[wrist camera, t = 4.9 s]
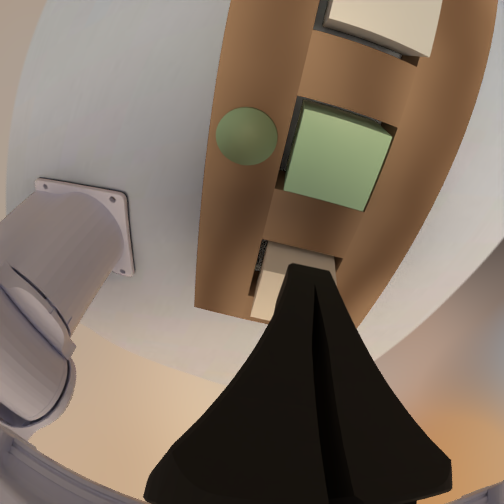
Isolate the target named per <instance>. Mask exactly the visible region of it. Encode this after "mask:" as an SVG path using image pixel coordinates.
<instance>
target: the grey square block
mask: <svg viewBox="0 0 504 504" xmlns="http://www.w3.org/2000/svg"><path fill="white" fill-rule="evenodd" d="M441 5H442V0H328V4H327V8H326V12H325V17H324V21H323V25H322V27H326V28H330V29H333V30H336V31H340V32H343V33H346V34H349V35H353V36H356V37H358V38H361V39H364V40H367V41H370V42H372V43H375V44H378V45H380V46H383V47H385V48H388V49H390V50H393V51H395V52H397V53H400V54H402V55H405V56H419V57H430V54H431V50H432V46H433V42H434V38H435V34H436V29H437V25H438V20H439V15H440V10H441Z"/></svg>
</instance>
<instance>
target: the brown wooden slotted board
mask: <svg viewBox="0 0 504 504" xmlns="http://www.w3.org/2000/svg"><path fill="white" fill-rule="evenodd" d="M319 1H320V0H231V3H230V7H229V12H228V17H227V22H226V27H225V33H224V38H223V44H222V49H221V55H220V61H219V67H218V73H217V79H216V86H215V92H214V99H213V106H212V113H211V120H210V128H209V136H208V144H207V152H206V161H205V170H204V180H203V190H202V200H201V211H200V223H199V236H198V250H197V265H196V283H195V304H194V307H197V308H201V309H205V310H209V311H213V312H217V313H221V314H226V315H230V316H234V317H238V318H243V319H247V320H251V321H256V322H260V323H265V324H269V322H270V321H268V320H264V319H259V318H254V317H250V315H251V310H252V305H253V300H254V295H255V289H256V284H257V280H258V276H259V273H260V272H258V271H254V269H255V265H256V261H257V257H258V253H259V249H260V245H261V241H262V239H264V240H269V241H273V242H277V243H281V244H286V245H290V246H294V247H298V248H302V249H307V250H311V251H315V252H319V253H323V254H327V255H331V256H334V261H335V271H336V281H337V288H338V290H339V293H340V295H341V297H342V299H343V301H344V304H345V306H346V308H347V310H348V312H349V314H350V316H351V319H352V321H353V323H354V325H355V327H356V329H357V327H358V326H359V325H360V323H361V322H362V321H363V319H364V318H365V316H366V315H367V314H368V312H369V311H370V309H371V308H372V306H373V305H374V303H375V302H376V301H377V299H378V298H379V296H380V295H381V293H382V292H383V290H384V289H385V287H386V286H387V284H388V282H389V281H390V279H391V278H392V276H393V275H394V273H395V271H396V270H397V268H398V267H399V265H400V263H401V262H402V260H403V258H404V257H405V255H406V253H407V252H408V250H409V248H410V246H411V245H412V243H413V241H414V239H415V238H416V236H417V234H418V232H419V231H420V229H421V227H422V225H423V223H424V221H425V219H426V218H427V216H428V214H429V212H430V210H431V208H432V206H433V204H434V202H435V200H436V198H437V196H438V194H439V192H440V190H441V188H442V186H443V183H444V181H445V179H446V177H447V175H448V172H449V170H450V168H451V166H452V163H453V161H454V159H455V156H456V154H457V152H458V149H459V147H460V144H461V142H462V139H463V137H464V134H465V131H466V129H467V126H468V123H469V120H470V117H471V115H472V112H473V109H474V106H475V103H476V99H477V96H478V93H479V90H480V86H481V83H482V79H483V76H484V72H485V68H486V64H487V60H488V56H489V51H490V47H491V42H492V37H493V31H494V25H495V19H496V12H497V4H498V0H442V5H441V10H440V15H439V20H438V25H437V29H436V34H435V38H434V42H433V46H432V50H431V54H430V57H419V56H405V55H402V57H401V59H398V58H396V57H394V56H391V55H389V54H386V53H384V52H381V51H379V50H376V49H374V48H371V47H368V46H366V45H363V44H360V43H357V42H354V41H351V40H348V39H345V38H341V37H338V36H335V35H331V34H328V33H324V32H320V31H316V30H313V27H314V22H315V18H316V14H317V9H318V5H319ZM297 95H298V96H302V97H306V98H310V99H313V100H317V101H321V102H324V103H328V104H331V105H334V106H338V107H341V108H344V109H347V110H350V111H354V112H357V113H360V114H362V115H365V116H368V117H371V118H374V119H376V120H379V121H382V123H381V126H382V127H383V128H384V129H385V130H386V131H387V132H388V133H389V134H390V135H391V136H392V139H391V142H390V145H389V148H388V150H387V153H386V156H385V158H384V161H383V163H382V166H381V169H380V171H379V174H378V176H377V179H376V181H375V184H374V186H373V189H372V191H371V193H370V196H369V198H368V201H367V203H366V205H365V208H364V210H363V211H359V210H356V209H352V208H349V207H345V206H342V205H338V204H335V203H331V202H327V201H324V200H320V199H316V198H312V197H308V196H304V195H301V194H297V193H293V192H288V191H284V182H285V173H286V171H282V170H279V168H280V164H281V160H282V156H283V152H284V148H285V144H286V140H287V136H288V131H289V127H290V123H291V119H292V115H293V111H294V107H295V102H296V98H297Z"/></svg>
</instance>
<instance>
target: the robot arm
mask: <svg viewBox="0 0 504 504" xmlns="http://www.w3.org/2000/svg"><path fill="white" fill-rule="evenodd" d="M35 189H36V191H35V192H34V193H33V194H31V195H30V196H29V197H28V198H27V199H25V200H24V201H23V202H22V203H21V204H20V205H18V206H17V207H16V208H15V209H14V210H13V211H12V212H11V213H10V214H8V215H7V216H6V217H5V218H4V219H3V220H2V221H1V222H0V504H416V501H417V500H421V499H425V498H429V497H433V496H436V495H439V494H442V493H446V492H449V491H450V490H451V489H452V467H451V460H450V459H449V458H448V457H447V456H446V455H445V453H444V452H443V451H442V450H441V449H439V447H438V446H437V445H436V444H435V443H434V442H433V441H432V440H431V439H430V438H429V437H428V436H427V435H426V434H425V432H424V431H423V430H422V429H421V428H420V426H419V425H418V424H417V423H416V422H415V421H414V419H413V418H412V417H411V415H410V414H409V413H408V412H407V410H406V409H405V408H404V406H403V405H402V403H401V402H400V401H399V399H398V398H397V397H396V395H395V394H394V392H393V391H392V389H391V388H390V387H389V385H388V384H387V382H386V381H385V379H384V377H383V376H382V374H381V372H380V371H379V369H378V368H377V366H376V364H375V363H374V361H373V359H372V357H371V356H370V354H369V352H368V350H367V348H366V346H365V344H364V343H363V341H362V339H361V337H360V335H359V333H358V331H357V329H356V327H355V325H354V323H353V321H352V319H351V316H350V314H349V312H348V310H347V308H346V306H345V304H344V301H343V299H342V297H341V295H340V293H339V290H338V288H337V286H336V284H335V281H334V279H333V277H332V275H331V273H330V271H328V270H324V269H319V268H314V267H310V266H305V265H300V264H296V263H291V264H289V265H288V268H287V271H286V274H285V277H284V280H283V283H282V286H281V288H280V291H279V294H278V297H277V300H276V304H275V309H274V314H273V316H272V318H271V320H270V322H269V324H268V326H267V328H266V329H265V331H264V333H263V335H262V337H261V338H260V340H259V342H258V343H257V345H256V346H255V348H254V350H253V351H252V353H251V354H250V356H249V357H248V359H247V360H246V362H245V363H244V364H243V366H242V367H241V369H240V370H239V371H238V373H237V374H236V375H235V377H234V378H233V379H232V381H231V382H230V383H229V385H228V386H227V387H226V389H225V390H224V391H223V392H222V393H221V394H220V396H219V397H218V398H217V399H216V400H215V401H214V402H213V404H212V405H211V406H210V407H209V408H208V409H207V411H206V412H205V413H204V414H203V415H202V416H201V417H200V418H199V419H198V420H197V421H196V423H194V424H193V425H192V426H191V427H190V428H189V429H188V430H187V431H186V432H185V433H184V434H183V435H182V436H181V437H180V438H179V439H178V440H177V441H176V442H175V443H174V444H173V445H172V446H171V447H170V449H169V450H168V452H167V453H166V454H165V455H164V457H163V458H162V459H161V460H160V462H159V463H158V464H157V465H156V467H155V468H154V469H153V471H152V472H151V474H150V475H149V478H148V481H147V484H146V488H145V492H144V496H143V497H144V499H145V500H146V501H147V502H144V501H142V500H138V499H136V498H133V497H130V496H128V495H125V494H122V493H120V492H117V491H115V490H112V489H110V488H108V487H105V486H103V485H101V484H98V483H96V482H94V481H92V480H90V479H88V478H86V477H84V476H82V475H80V474H78V473H76V472H74V471H72V470H70V469H68V468H66V467H64V466H63V465H61V464H59V463H57V462H56V461H54V460H52V459H50V458H49V457H47V456H45V455H44V454H42V453H41V452H39V451H38V450H37V449H36V447H35V446H33V445H32V444H31V443H29V442H28V440H29V438H30V437H31V436H32V435H33V434H34V433H35V432H36V431H37V430H39V429H40V428H43V427H45V426H47V425H49V424H51V423H52V422H54V421H55V420H56V419H58V418H59V417H60V416H61V415H62V414H63V413H64V411H65V410H66V408H67V407H68V405H69V403H70V401H71V399H72V396H73V392H74V388H75V382H76V368H75V365H74V362H73V360H72V359H71V356H72V354H73V352H74V350H75V348H76V345H75V344H74V343H73V342H72V340H71V339H70V337H71V335H72V334H73V332H74V330H75V329H76V327H77V325H78V323H79V322H80V320H81V318H82V317H83V315H84V313H85V312H86V310H87V308H88V307H89V305H90V304H91V302H92V300H93V299H94V297H95V296H96V294H97V292H98V291H99V289H100V288H101V286H102V285H103V283H104V282H105V280H106V279H107V277H108V276H109V274H110V273H111V272H115V273H118V274H121V275H125V276H128V277H132V276H133V274H134V272H135V271H134V264H133V257H132V249H131V240H130V231H129V221H128V210H127V199H126V196H125V195H124V194H123V193H121V192H117V191H112V190H106V189H101V188H95V187H90V186H84V185H78V184H73V183H67V182H61V181H55V180H49V179H43V178H38V179H36V180H35ZM112 196H113V197H114V198H115V200H114V199H113V197H112ZM148 502H149V503H148ZM446 504H504V480H503V481H502V482H499V483H497V484H494V485H492V486H488V487H485V488H482V489H479V490H476V491H474V492H471V493H469V494H466V495H464V496H462V497H461V498H460V499H457V500H455V501H452V502H449V503H446Z"/></svg>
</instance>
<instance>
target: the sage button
mask: <svg viewBox="0 0 504 504" xmlns="http://www.w3.org/2000/svg"><path fill="white" fill-rule="evenodd" d="M391 139H392V136H391V135H390V134H389V133H388V132H387V131H386V130H385V129H384V128H383V127H382V126H380V125H379V124H378V123H377V122H376V121H374V120H371V119H368V118H365V117H362V116H359V115H356V114H353V113H350V112H347V111H344V110H341V109H337V108H334V107H331V106H327V105H324V104H320V103H317V102H313V101H309V100H305V99H303V102H302V106H301V110H300V114H299V118H298V122H297V126H296V130H295V134H294V138H293V142H292V146H291V150H290V154H289V158H288V162H287V166H286V173H285V182H284V191H288V192H293V193H297V194H301V195H304V196H308V197H312V198H316V199H320V200H324V201H327V202H331V203H335V204H338V205H342V206H345V207H349V208H352V209H356V210H359V211H363V210H364V208H365V205H366V203H367V201H368V198H369V196H370V193H371V191H372V189H373V186H374V184H375V181H376V179H377V176H378V174H379V171H380V169H381V166H382V163H383V161H384V158H385V156H386V153H387V150H388V148H389V145H390V142H391Z"/></svg>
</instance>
